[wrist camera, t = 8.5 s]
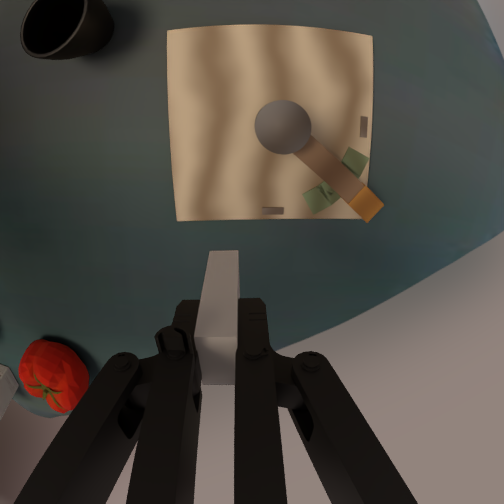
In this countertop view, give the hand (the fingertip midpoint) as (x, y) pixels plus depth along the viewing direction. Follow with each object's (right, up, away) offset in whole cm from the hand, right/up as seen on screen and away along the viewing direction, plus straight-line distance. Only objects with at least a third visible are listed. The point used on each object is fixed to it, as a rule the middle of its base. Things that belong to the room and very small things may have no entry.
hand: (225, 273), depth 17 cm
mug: (-18, +28, +8) cm, 34 cm away
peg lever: (+8, +12, +15) cm, 20 cm away
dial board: (+4, +15, +15) cm, 21 cm away
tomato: (-34, -18, +31) cm, 49 cm away
